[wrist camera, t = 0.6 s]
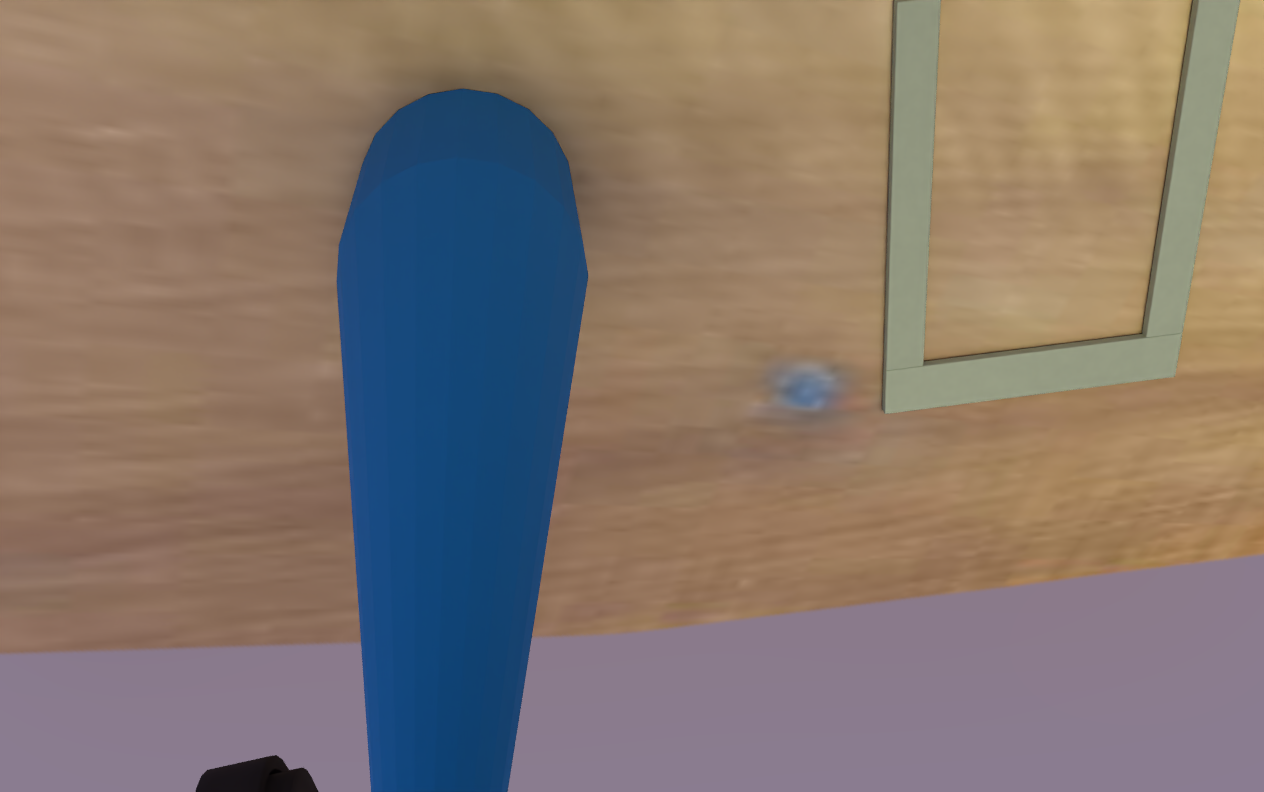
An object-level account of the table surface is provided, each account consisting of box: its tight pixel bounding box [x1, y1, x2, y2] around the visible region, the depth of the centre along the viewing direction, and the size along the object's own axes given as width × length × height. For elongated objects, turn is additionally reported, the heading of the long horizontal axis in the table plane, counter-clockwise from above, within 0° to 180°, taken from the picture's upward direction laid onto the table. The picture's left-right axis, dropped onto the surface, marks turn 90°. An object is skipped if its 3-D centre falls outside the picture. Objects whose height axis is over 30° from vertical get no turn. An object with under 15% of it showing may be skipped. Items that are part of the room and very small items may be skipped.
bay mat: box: [882, 0, 1240, 414], centre depth 43 cm, size 16×12×1 cm
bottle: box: [337, 89, 588, 792], centre depth 27 cm, size 7×7×30 cm
